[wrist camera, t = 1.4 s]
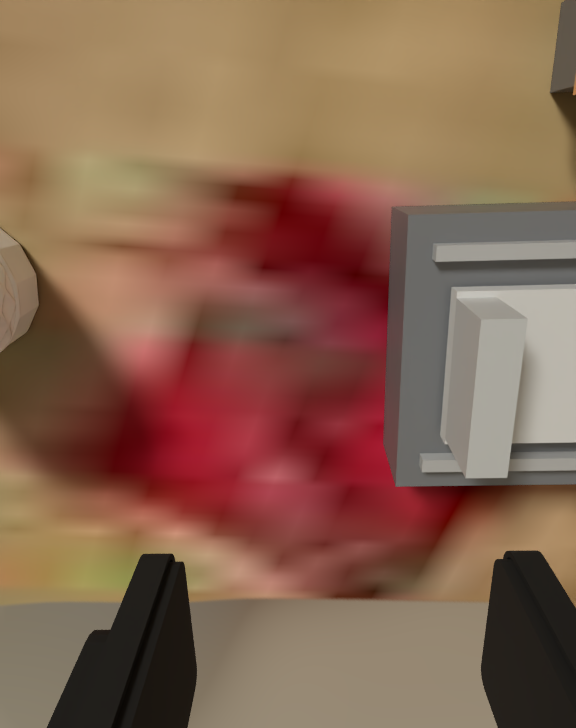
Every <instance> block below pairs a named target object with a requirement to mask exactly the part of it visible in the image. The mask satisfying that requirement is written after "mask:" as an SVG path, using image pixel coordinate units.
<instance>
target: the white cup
mask: <svg viewBox="0 0 576 728" xmlns="http://www.w3.org/2000/svg"><path fill="white" fill-rule="evenodd" d="M38 306H39V300H38V288H37V277H36V273H35V271H34V269H33V267H32V265H31V264H30V262H29V260H28V258H27V256H26V255H25V253H24V251H23V249H22V247H21V245H20V244H19V243H18V242H17V241H15V240H14V239H13V238H12V237H10V236H9V235H8V234H7V233H6V232H4V231H3V230H2V229H1V228H0V352H2V351H3V350H4V349H5V348H6V347H7V346H9V345H10V344H11V343H13V342H14V341H15V340H17V339H18V338H20V337H21V336H22V335H24V334H25V333H26V332H27V331H28V330H29V327H30V325H31V323H32V320H33V318H34V315H35V313H36V311H37V308H38Z"/></svg>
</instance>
